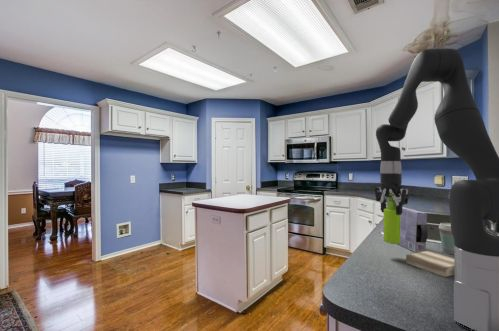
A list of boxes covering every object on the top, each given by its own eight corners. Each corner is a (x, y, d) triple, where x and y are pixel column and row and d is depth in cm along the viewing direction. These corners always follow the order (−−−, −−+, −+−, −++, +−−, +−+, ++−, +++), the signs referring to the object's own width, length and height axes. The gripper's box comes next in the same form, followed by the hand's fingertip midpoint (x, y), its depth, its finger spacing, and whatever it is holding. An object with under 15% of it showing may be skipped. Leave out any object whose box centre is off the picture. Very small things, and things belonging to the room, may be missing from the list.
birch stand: (444, 276, 79) (444, 267, 80) (406, 262, 92) (406, 254, 92) (467, 270, 84) (467, 262, 84) (428, 258, 96) (427, 250, 96)
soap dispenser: (383, 243, 96) (383, 193, 96) (383, 238, 102) (383, 192, 102) (401, 245, 93) (401, 194, 93) (399, 241, 99) (399, 192, 100)
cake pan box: (429, 254, 101) (428, 212, 101) (417, 254, 101) (416, 212, 101) (400, 241, 120) (400, 205, 120) (390, 240, 120) (390, 205, 120)
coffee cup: (461, 251, 105) (461, 224, 105) (467, 257, 97) (466, 228, 98) (437, 248, 109) (436, 221, 109) (440, 253, 102) (440, 225, 102)
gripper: (369, 172, 104) (369, 211, 103) (401, 172, 90) (401, 217, 90) (381, 172, 106) (382, 210, 106) (414, 172, 93) (415, 216, 93)
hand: (391, 213), depth 98 cm, fingers closed on soap dispenser, 6 cm apart
